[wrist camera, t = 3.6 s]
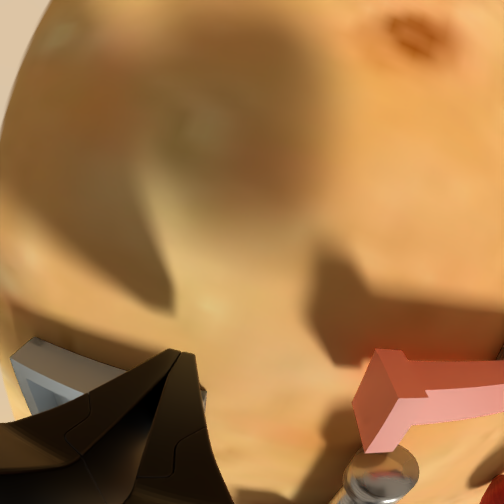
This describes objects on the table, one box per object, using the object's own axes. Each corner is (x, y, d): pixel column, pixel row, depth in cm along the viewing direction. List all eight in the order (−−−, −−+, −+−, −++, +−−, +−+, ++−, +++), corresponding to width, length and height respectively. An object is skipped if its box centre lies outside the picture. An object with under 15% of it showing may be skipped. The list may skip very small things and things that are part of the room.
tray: (197, 526, 16) (192, 545, 14) (97, 495, 16) (89, 511, 14) (206, 391, 11) (195, 427, 9) (34, 336, 11) (9, 357, 9)
